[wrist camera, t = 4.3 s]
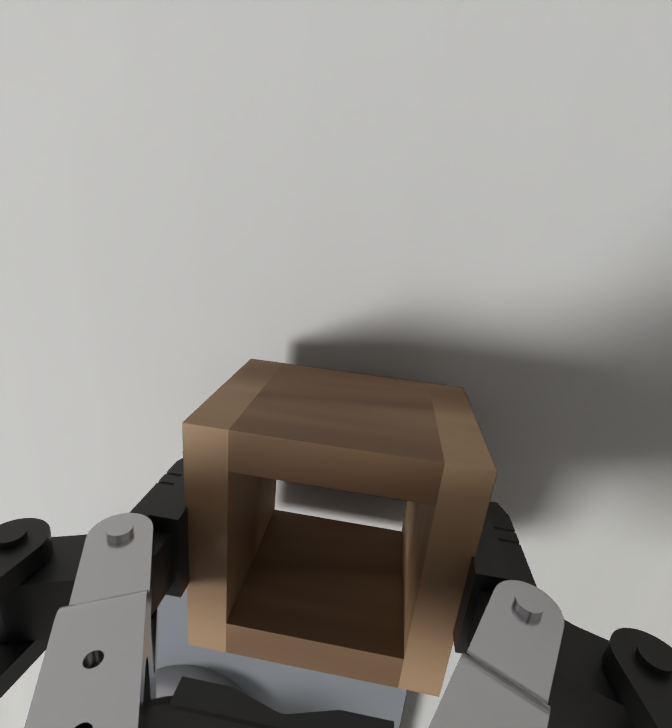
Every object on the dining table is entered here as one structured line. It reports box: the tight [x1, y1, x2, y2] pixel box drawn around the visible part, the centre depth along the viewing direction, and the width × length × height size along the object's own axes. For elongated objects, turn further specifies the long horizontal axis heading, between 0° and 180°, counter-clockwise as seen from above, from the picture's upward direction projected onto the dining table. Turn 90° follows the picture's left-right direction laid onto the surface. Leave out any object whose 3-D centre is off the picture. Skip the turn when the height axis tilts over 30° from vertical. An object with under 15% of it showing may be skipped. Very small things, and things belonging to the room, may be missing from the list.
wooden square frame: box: [182, 359, 497, 697], centre depth 12 cm, size 6×6×4 cm
